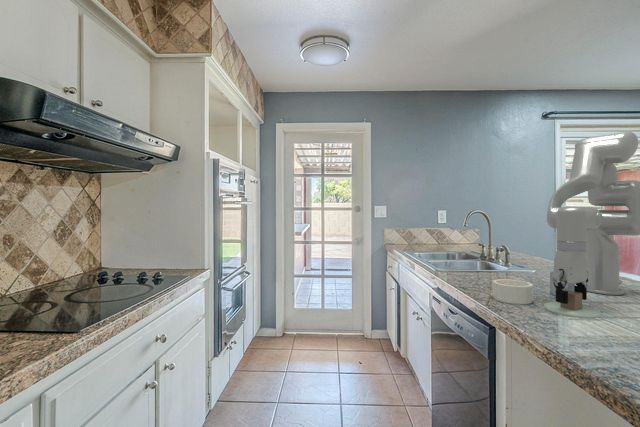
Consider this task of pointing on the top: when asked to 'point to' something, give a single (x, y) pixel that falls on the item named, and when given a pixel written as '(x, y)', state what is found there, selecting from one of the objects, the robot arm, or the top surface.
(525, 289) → the bowl
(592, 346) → the top surface
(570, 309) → the lid
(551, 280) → the medicine box
